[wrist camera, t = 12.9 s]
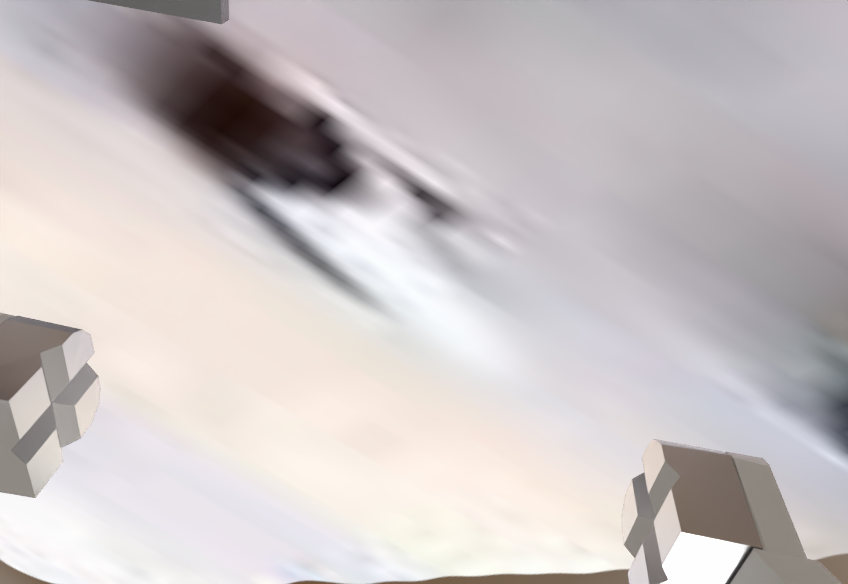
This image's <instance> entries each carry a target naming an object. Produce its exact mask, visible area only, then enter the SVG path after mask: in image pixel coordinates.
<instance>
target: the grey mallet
mask: <svg viewBox="0 0 848 584" xmlns="http://www.w3.org/2000/svg"><path fill="white" fill-rule="evenodd" d="M90 1H96V2H101V3H107V4H112V5H118V6H124V7H129V8H135V9H140V10H146V11H151V12H157V13H163V14H168V15H174V16H179V17H185V18H190V19H196V20H201V21H207V22H213V23H218V24H223V23H224V22H226V21H228V20H229V16H228V0H90Z"/></svg>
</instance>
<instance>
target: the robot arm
mask: <svg viewBox="0 0 848 584" xmlns="http://www.w3.org/2000/svg"><path fill="white" fill-rule="evenodd" d="M93 354H94V348H93V344H92V339H91V335H90V334H89V333H87V332H85V331H84V330H81V329H77V328H72V327H67V326H63V325H58V324H53V323H49V322H44V321H40V320H35V319H30V318H26V317H21V316H12V315H8V314H3V313H0V492H3V493H9V494H15V495H21V496H27V497H33V498H36V497H37V495H38V494H39V493H40V491H41V490H42V489H43V487H44V486H45V485H46V483H47V482H48V481H49V480H50V478H51V477H52V476H53V474H54V473H55V472H56V470H57V469H58V468H59V466H60V465H61V464H62V463H63V456H62V447H64V446H66V445H68V444H70V443H72V442H74V441H76V440H78V439H80V438H81V437H82V436H83V435H84V433H85V432H86V430H87V429H88V428H89V426H90V425H91V423H92V421H93V418H94V416H95V413H96V411H97V408H98V405H99V399H100V383H99V377H98V375H97V374H96V373H95V372H94V371H93V369H92V368H91V367H90V366H89V365H88V364H87V363H86V362H87V361H88V360H89V358H90V357H91V356H92V355H93ZM642 462H643V467H644V473H642V474H641V475H639V476H637V477H635V478H633V479H632V480H631V483H630V485H629V488H628V490H627V493H626V495H625V500H624V505H623V511H622V534H623V542H624V545H625V547H626V548H627V549H628V550H629V552H630V553H631V554H632V555H633V557H634V558H635V559H634V561H633V563H632V565H631V567H630V569H629V571H628V577H629V584H842V583H841V582H840V581H839V580H838V579H837V578H836V577H835V576H834V575H833V574H832V573H830V572H829V571H828V570H827V569H826V568H825V567H824V566H823V565H822V564H821V563H820V562H819V561H815V560H810V559H807V557H806V554H805V552H804V550H803V547H802V545H801V542H800V540H799V537H798V535H797V532H796V530H795V527H794V525H793V522H792V520H791V517H790V515H789V513H788V510H787V508H786V505H785V503H784V500H783V498H782V495H781V493H780V490H779V488H778V485H777V483H776V480H775V478H774V476H773V473H772V471H771V468H770V466H769V464H768V463H767V462H766V461H765V460H764V459H763V458H758V457H753V456H747V455H741V454H736V453H730V452H725V453H724V452H721V451H716V450H711V449H705V448H700V447H694V446H689V445H683V444H678V443H673V442H667V441H662V440H656V439H654V440H653V441H652V442H651V443H650V444H649V445H648V446H647V448H646V450H645V452H644V454H643V456H642Z"/></svg>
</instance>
